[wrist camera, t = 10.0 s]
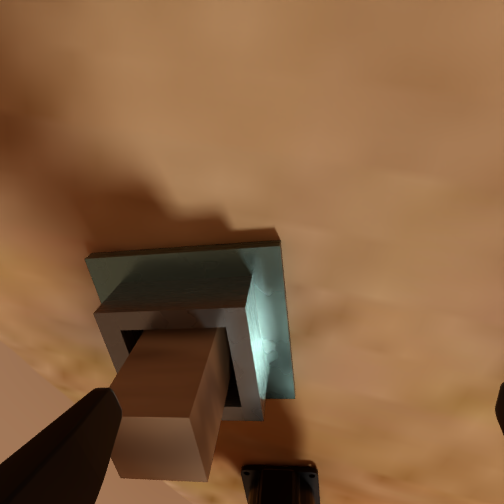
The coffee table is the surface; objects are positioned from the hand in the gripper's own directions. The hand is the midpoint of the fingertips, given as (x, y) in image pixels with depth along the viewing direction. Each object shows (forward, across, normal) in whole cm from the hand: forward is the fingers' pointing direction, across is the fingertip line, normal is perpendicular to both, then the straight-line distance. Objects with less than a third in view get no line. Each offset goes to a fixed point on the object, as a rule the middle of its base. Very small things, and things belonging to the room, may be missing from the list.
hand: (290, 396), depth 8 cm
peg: (+11, +7, +8) cm, 15 cm away
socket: (+12, +7, +8) cm, 16 cm away
